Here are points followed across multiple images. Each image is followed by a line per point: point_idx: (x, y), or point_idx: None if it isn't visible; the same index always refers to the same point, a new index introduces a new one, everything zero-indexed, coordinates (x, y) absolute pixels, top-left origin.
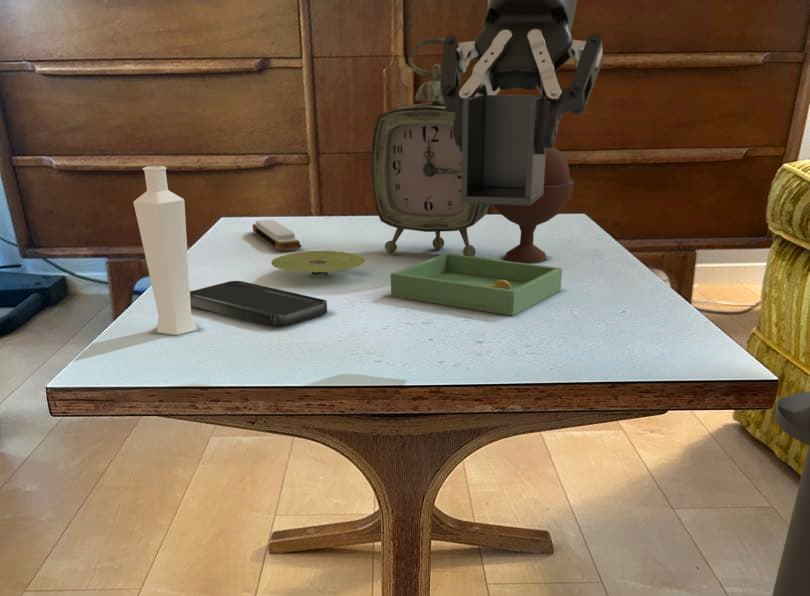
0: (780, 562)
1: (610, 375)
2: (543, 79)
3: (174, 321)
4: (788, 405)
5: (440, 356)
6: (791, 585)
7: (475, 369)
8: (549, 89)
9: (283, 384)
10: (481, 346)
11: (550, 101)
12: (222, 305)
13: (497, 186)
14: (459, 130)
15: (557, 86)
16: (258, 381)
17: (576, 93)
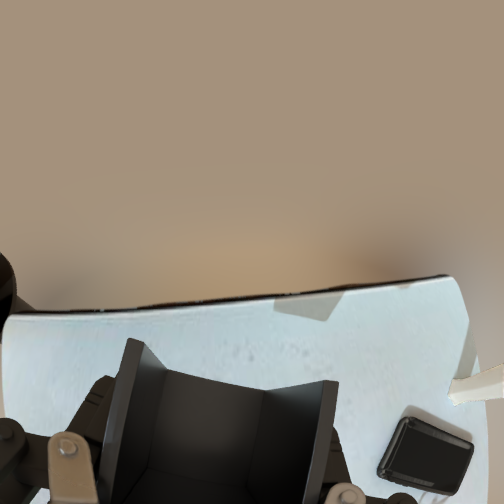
0: None
1: (103, 328)
2: (91, 502)
3: (460, 379)
4: (2, 316)
5: (253, 374)
6: None
7: (218, 341)
8: (78, 463)
9: (357, 293)
10: None
11: (84, 434)
12: (449, 433)
13: (218, 483)
14: None
15: (53, 461)
16: (374, 297)
17: (15, 422)
